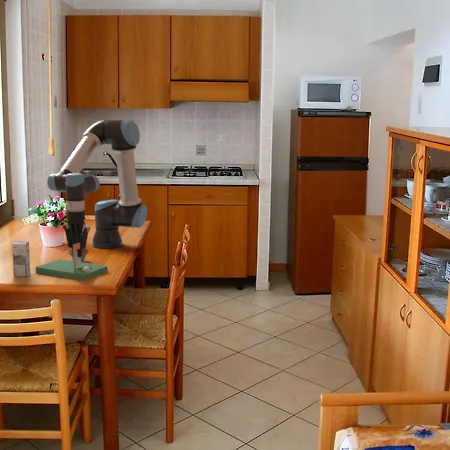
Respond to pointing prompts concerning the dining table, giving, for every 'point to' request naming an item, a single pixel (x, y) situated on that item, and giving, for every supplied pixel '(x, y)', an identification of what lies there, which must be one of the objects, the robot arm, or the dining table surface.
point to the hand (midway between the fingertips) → (77, 264)
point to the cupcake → (84, 252)
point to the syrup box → (21, 258)
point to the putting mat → (71, 268)
